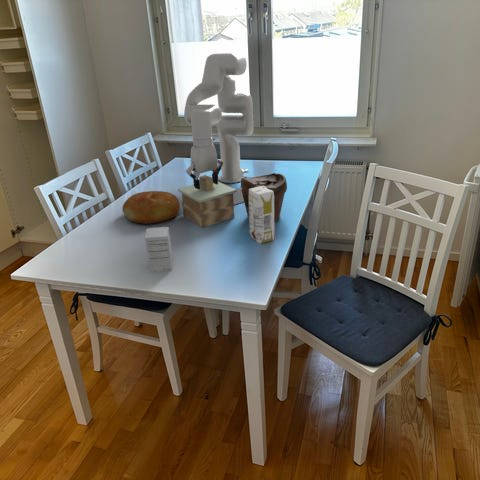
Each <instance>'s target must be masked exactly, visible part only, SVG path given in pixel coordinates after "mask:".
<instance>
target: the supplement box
mask: <svg viewBox="0 0 480 480" xmlns="http://www.w3.org/2000/svg"><path fill="white" fill-rule="evenodd" d="M144 241H145V248H146V255H147V260H148V267H149V268H148V269H149V272H151V273H154V272H156V273H157V272H165V271H167V272H168V271H169V272H170V271H172V270H173V263H174V262H173V261H174V257H173V251H172V250H173V249H172V243H171V242H172V241H171V236H170V228H169V226H161V227H150V228H146V230H145V236H144Z"/></svg>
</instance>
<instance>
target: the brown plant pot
mask: <svg viewBox="0 0 480 480" xmlns="http://www.w3.org/2000/svg"><path fill="white" fill-rule="evenodd" d="M260 186H265V187H266V188H267V189H269V190H272V191H274V223H275V222H277V221H278V220H279V219H280V217H281V212H282V207H283V203H284V197H285V193H286V192H287V190H288V183H287V178H286V177H285V175H284V174H281V173H270V174H265V175H261V176H260V175H259V176H254V177H251V176H250V177H249V176H247V177H244V178H242V179H241V182H240V187H239V188H241V189H242V190H241V192H242V194H243V199H244V207H245V211H246V215H247V219H248V220H249V189H251V188H255V187H260Z"/></svg>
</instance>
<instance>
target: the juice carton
mask: <svg viewBox="0 0 480 480" xmlns="http://www.w3.org/2000/svg"><path fill="white" fill-rule="evenodd" d="M248 221H249V234H250V235H249V236H250V238H252V239H253V240H254V241H255V242H257V243H258V244H259V245H261V244H265V243H267V242H272V241H274V240H275V222H274V191H272V190H269V189H267V188H266V187H265V186H260V187H255V188H251V189H249V219H248Z"/></svg>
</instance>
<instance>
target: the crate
mask: <svg viewBox="0 0 480 480" xmlns="http://www.w3.org/2000/svg"><path fill="white" fill-rule="evenodd" d="M181 200H182V209H183V216H184V218H186V219H188V220H190V221H191V222H193V223H194V224H196V225H198V226H199V227H201V228H204V229H205V228H207V227H210V226H212V225H216V224H218V223H222V222H225V221H227V220H230V219H233V218H235V205H234V202H233V193H232V194H228V195H225V196H222V197H218V198H215V199H211V200H208V201H205V202H201V203H199V202H197V201H195V200H194V199H192V198H190V197H188V196H186V195H184V194H182V193H181Z"/></svg>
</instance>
